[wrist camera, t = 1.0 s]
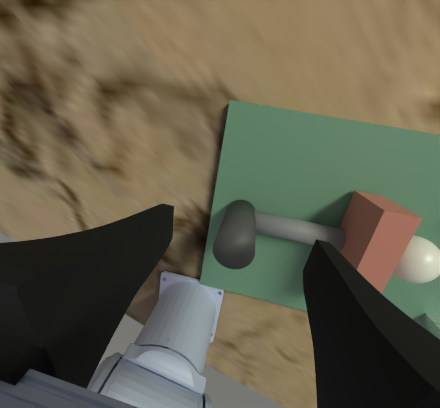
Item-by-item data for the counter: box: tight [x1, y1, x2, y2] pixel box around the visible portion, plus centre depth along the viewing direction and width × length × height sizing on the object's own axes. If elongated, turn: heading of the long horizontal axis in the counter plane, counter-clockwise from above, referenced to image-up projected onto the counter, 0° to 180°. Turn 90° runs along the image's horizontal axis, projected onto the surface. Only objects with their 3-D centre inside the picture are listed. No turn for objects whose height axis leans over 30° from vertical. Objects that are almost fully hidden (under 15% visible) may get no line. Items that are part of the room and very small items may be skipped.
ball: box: [392, 235, 440, 283], centre depth 19 cm, size 4×4×4 cm
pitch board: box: [200, 100, 440, 333], centre depth 21 cm, size 20×35×1 cm, turn 80°
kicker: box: [212, 190, 422, 294], centre depth 18 cm, size 9×13×7 cm
